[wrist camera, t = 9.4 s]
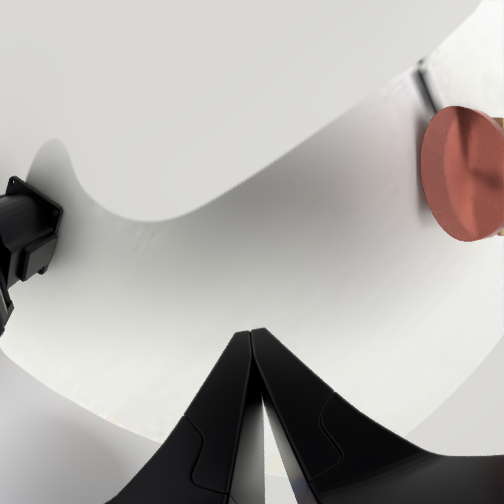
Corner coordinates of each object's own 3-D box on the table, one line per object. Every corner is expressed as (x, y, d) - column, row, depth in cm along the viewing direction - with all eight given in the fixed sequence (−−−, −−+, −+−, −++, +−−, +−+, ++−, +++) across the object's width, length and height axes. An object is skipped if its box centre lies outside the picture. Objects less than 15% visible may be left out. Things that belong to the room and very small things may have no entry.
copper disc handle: (420, 221, 20) (497, 262, 12) (416, 109, 17) (502, 104, 9) (496, 211, 20) (561, 240, 12) (496, 122, 17) (566, 130, 9)
